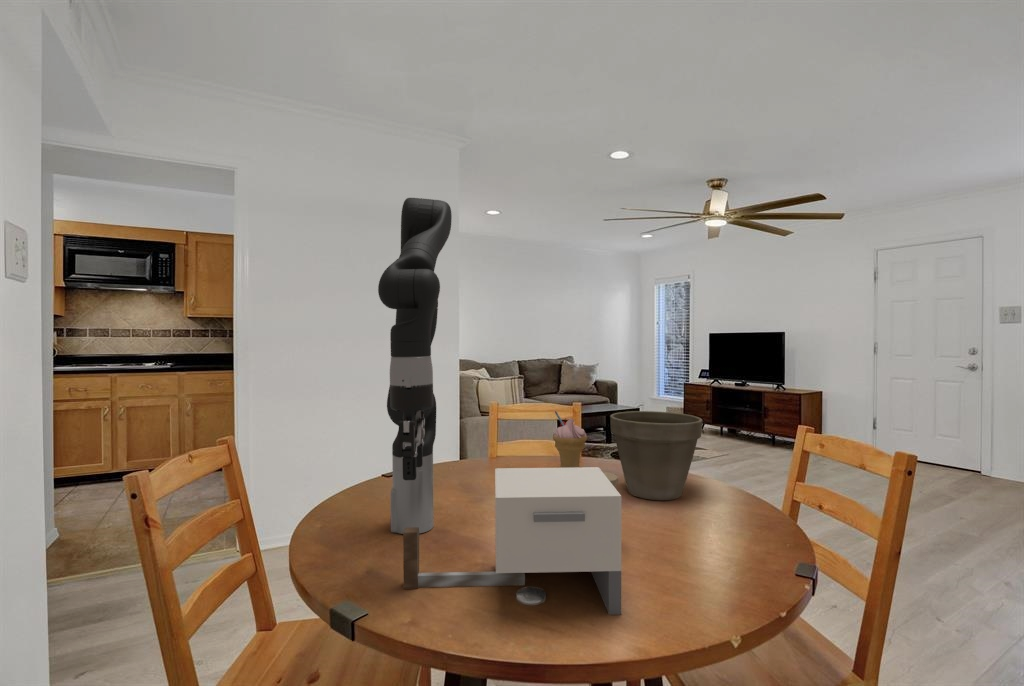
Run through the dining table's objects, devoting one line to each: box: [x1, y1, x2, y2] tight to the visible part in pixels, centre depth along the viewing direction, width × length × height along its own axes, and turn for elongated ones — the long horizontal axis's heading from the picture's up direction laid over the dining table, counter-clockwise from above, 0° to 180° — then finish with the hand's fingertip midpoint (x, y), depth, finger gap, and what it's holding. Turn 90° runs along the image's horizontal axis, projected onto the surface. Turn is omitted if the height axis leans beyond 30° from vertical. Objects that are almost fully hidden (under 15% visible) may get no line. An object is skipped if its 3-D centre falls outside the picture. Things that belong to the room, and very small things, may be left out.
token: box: [515, 586, 547, 606], centre depth 89 cm, size 5×5×1 cm
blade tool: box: [402, 527, 526, 590], centre depth 94 cm, size 21×2×10 cm, turn 92°
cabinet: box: [494, 466, 622, 616], centre depth 92 cm, size 20×19×19 cm
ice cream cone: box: [552, 410, 588, 468], centre depth 167 cm, size 11×11×20 cm
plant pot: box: [609, 410, 703, 501], centre depth 147 cm, size 25×25×22 cm
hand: (413, 473), depth 93 cm, fingers open, 8 cm apart
